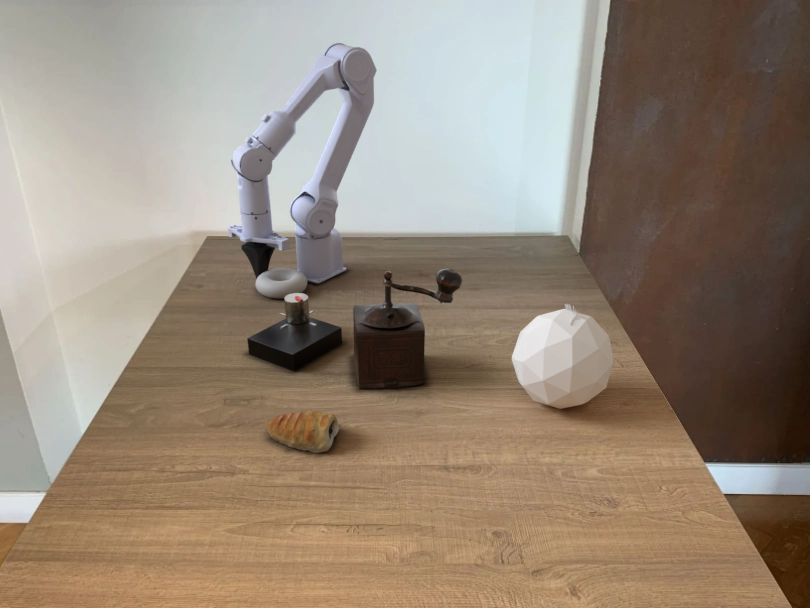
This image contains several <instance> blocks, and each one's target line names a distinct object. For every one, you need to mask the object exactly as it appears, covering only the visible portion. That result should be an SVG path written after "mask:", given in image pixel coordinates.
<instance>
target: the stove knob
mask: <svg viewBox="0 0 810 608" xmlns="http://www.w3.org/2000/svg"><path fill="white" fill-rule="evenodd" d="M283 299H284V300H283V301H284V314H285V315H286V316H285V319H286V321H287V322H288V323H290V324H303V323H306V322H308V321H309V319H310V318H309V317H310V314H309V312H310V305H309V304H310V303H309V302H310V301H309V296H308V294H306V293H304V292H302V293H292V294H289V295H286V296H285V297H284V298H283Z"/></svg>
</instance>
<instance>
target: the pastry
mask: <svg viewBox="0 0 810 608" xmlns="http://www.w3.org/2000/svg"><path fill="white" fill-rule="evenodd" d="M266 430H267V432H268V434H269V436H270V437H271V438H272V439H273V440H274V441H275V442H279V443H280V444H283V445H285V446H287V447H288V448H292V449H295V450H299V451H300V450H301V451H309V452H310V453H315V454H316V453H317V454H319V453H325V452H328V451H329V450H330V448H331V447H332V445H333V443H334V438H335V437H336V436H337V435H338V434H339V431H340V425H339V421H338V418H337V416H336V415H335V414H334V413H333V412H330V413H326V412H322V411H315V410H312V409H307V410H305V411H303V412H302V411H301V412H289V413H285V414H281V415H278V416H275V417H274V418H273V419H272V420H271V421H270V422H269V423H267V425H266Z"/></svg>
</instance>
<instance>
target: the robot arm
mask: <svg viewBox="0 0 810 608" xmlns="http://www.w3.org/2000/svg"><path fill="white" fill-rule="evenodd" d="M376 73H377V67H376V64H375V63H374V60H373V58H372V56H371V54H370V53H369V51H368V50H366V49H365V48H364V47H360V46H351V45H347V44H344V43H342V42H336V43H332V44H331V45H329V46H328V47H327V48H325V51H324V52H323V54H321V55H320V56H319V57H317V59H316V61H315V62H314V64H313V66H312V68H311V69H310V71H309V72H308V74H307V75H306V76H305V78H304V79H303V80H302V82H301V83H300V84H299V86H298V87H297V88H296V90H295V91H294V92H293V94H292V95H291V96H290V98H289V99H288V100H287V101H286V103H285V105H284V106H283V107H282V108H281V110H271V111H270V113H269V114H266V113H265V114H264V115H263V116H262V117H261V118H260V120H261V121H262V122H261V123H260V125H259V126H258V127H257V129H256V130H255V131H254V132H253V133H252V134H251V136H247V137H246V138H245V139H244V141H245V143H243V144H240V145H239V146H238V147H237V148H235V150H234V152H233V154H232V156H233V157H232V159H230V163H231V166H232V168H233V170H235V171H236V176H237V177H236V178H237V192H238V201H239V212H240V220H241V221H240V223H241V225H239V224H233V225H231V226H228V227H227V231H228V237H229V238H238V239H239V241H240V242H242V243H243V244H242V245H240V248H241V250H242V252H243V253H244V254H245V257H246V258H247V260H248V261H249V263H250V266H251V268H252V271H253V273H254V276H255V278H256V280H257V278H258V276H259V275H261V274H262V273H264V272H266V271H268V270H269V266H270V262H271V259H272V256H273V254H274V252H275V250H276V249H278V251H281V252H284V251H287V250H290V238H288V237H285V236H283V235H281V234H279V233H278V232H276V231H274V230H273V221H272V220H273V219H272V206H271V196H270V194H271V193H270V186H269V175H271V173H272V170H273V161H274V160H275V159H276V158H277V157H278V156H279V154H280V153H281V152H282V151H283V149H284V148H285V147H286V146H287V145H288V144H289V142H290V141H291V140H292V139H293V138H294V136H295V135H296V133H297V123H298V121H299V120H300V119H301V118H302V117H303V116H304V114H306V112H307V111H308V110H309V109H310V108H311V107H312V106H313V105H314V104H315V103H316V101H318V100H319V98H320V97H321V96H322V95H323V94H324V93H325V92H326V91H331V90H336V89H337V90H338V92H339V95H340V97H341V99H342V102H343V103H342V106H341V108H340V110H339V113H338V115H337V116H336V117H337V118H336V120H335V122H334V125H333V127H332V130H331V132H330V135H329V137H328V139H327V142H326V144H325V146H324V149H323V151H322V154H321V155H320V158H319V161H318V163H317V165H316V167H315V170H314V173H313V175H312V177H311V179H310V180H309V181H308V182H307V183H305V184H304V185H303V186H302V188H301V190H300V193H298V195H297V196H296V197H295V198H293V200H292V201H291V203H290V204H289V205H290V206H289V215H290V217H291V220H293V222H294V223H295V229H294V237H295V238H294V239H295V253H296V268H297V269H296V270H298V271H300V272H302V273H303V274H304V275H305V277H306V278H307V282H308V283H313V284H316V285H318V284H321V283H323V282H325V281H327V280H330V279H331V278H333V277H335V276H337V275H340V274H343V273H344V272H346V271H347V267H345V266H344V248H343V237H342V236H341V233H340V232H339V231H338V229H336V228H335V225H336V212H337V209H338V207H339V199H338V189H339V188H340V185H341V183H342V180H343V178H344V175H345V173H346V171H347V168H348V166H349V164H350V162H351V160H352V158H353V155H354V153H355V150H356V147H357V146H358V143H359V140H360V138H361V136H362V134H363V131H364V129H365V127H366V125H367V122H368V120H369V117H370V115H371V114H372V110H373V108H374V104H375V79H374V78H375V76H376Z"/></svg>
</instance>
